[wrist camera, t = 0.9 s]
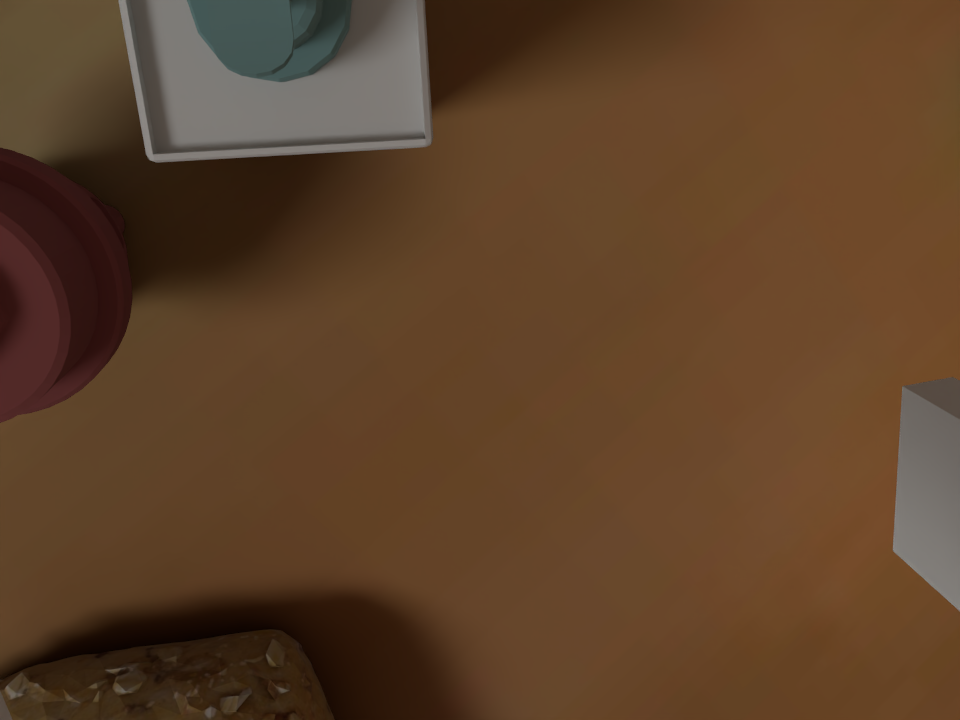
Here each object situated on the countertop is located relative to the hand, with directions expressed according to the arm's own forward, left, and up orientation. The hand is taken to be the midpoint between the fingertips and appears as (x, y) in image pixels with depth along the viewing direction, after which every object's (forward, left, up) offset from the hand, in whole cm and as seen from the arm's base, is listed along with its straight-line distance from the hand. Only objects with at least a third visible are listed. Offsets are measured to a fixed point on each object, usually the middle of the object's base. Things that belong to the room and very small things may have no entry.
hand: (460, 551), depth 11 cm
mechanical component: (-9, -12, -29) cm, 33 cm away
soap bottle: (-8, +3, -29) cm, 30 cm away
